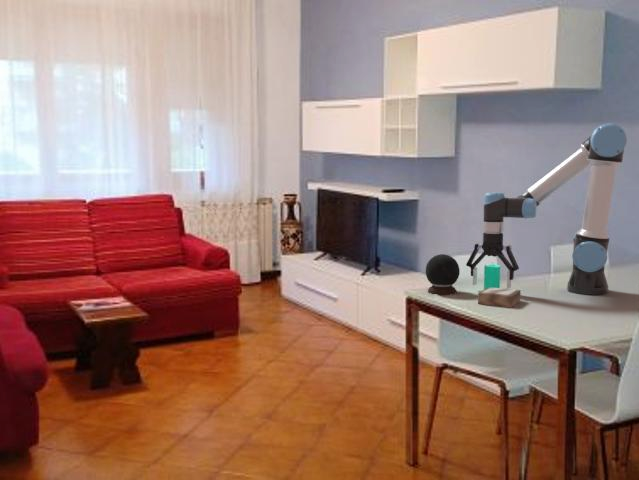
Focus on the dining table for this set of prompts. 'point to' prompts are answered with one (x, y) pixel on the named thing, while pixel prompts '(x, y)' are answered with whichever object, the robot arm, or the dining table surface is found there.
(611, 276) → the dining table surface
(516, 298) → the plinth
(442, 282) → the smart speaker
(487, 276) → the candle
